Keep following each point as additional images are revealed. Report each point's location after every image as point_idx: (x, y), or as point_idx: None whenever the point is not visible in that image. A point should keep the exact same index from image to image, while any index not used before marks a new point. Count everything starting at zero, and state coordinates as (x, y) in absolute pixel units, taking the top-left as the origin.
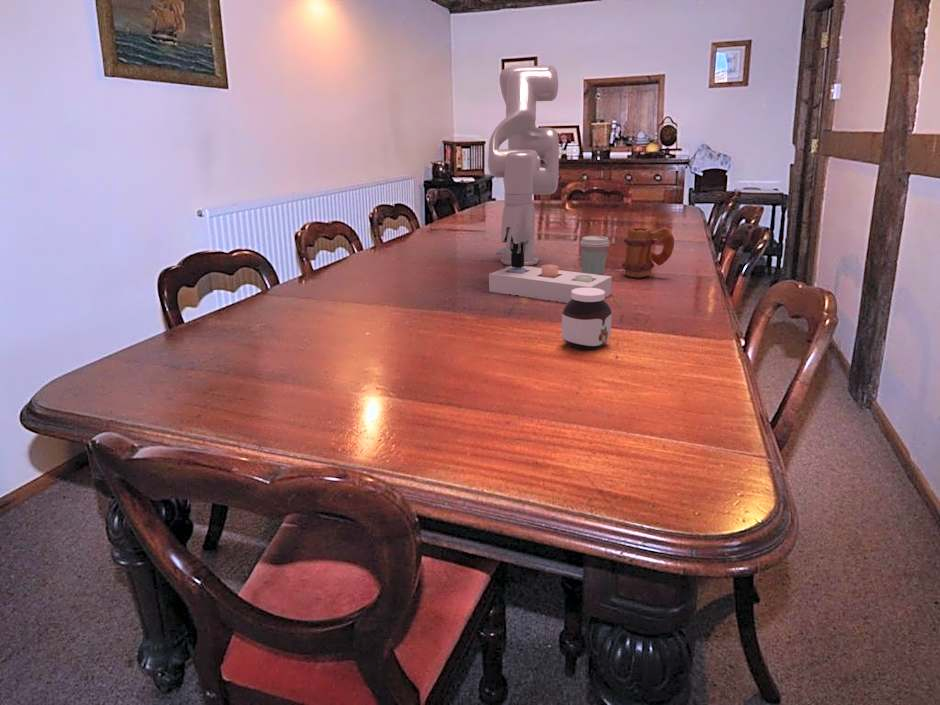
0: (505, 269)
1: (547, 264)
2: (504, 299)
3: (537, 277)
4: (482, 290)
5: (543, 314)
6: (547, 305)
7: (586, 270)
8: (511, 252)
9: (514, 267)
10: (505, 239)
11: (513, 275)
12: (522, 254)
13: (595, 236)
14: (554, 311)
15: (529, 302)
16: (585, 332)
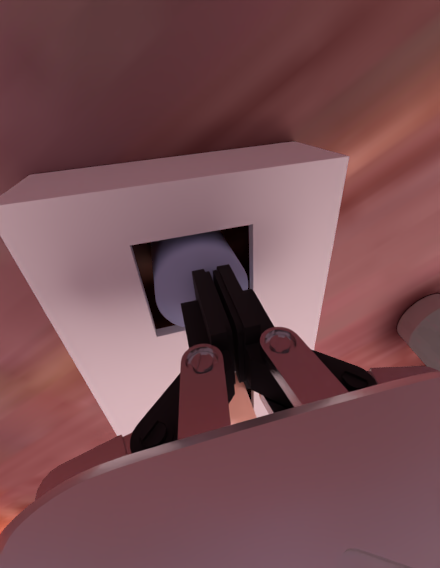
0: (193, 206)
1: (249, 417)
2: (3, 316)
3: (152, 405)
4: (12, 117)
5: (3, 460)
6: (83, 419)
7: (422, 335)
8: (184, 361)
9: (223, 260)
10: (141, 498)
11: (100, 335)
12: (238, 380)
13: None
14: (53, 453)
15: (61, 382)
16: None
